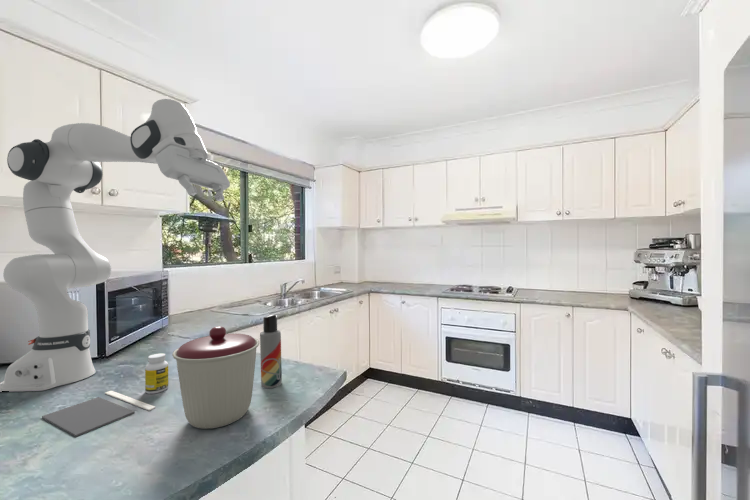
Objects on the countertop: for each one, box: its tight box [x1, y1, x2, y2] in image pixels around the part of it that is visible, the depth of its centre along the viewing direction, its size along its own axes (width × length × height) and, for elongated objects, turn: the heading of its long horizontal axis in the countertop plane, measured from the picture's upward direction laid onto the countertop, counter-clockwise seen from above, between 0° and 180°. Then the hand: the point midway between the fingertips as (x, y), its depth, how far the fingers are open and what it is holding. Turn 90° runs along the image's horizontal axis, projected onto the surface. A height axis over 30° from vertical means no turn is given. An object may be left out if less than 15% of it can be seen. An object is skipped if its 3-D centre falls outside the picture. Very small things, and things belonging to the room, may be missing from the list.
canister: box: [171, 325, 260, 430], centre depth 75 cm, size 18×18×21 cm
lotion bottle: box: [259, 314, 283, 389], centre depth 93 cm, size 6×6×20 cm
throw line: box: [104, 390, 156, 412], centre depth 84 cm, size 22×2×1 cm, turn 62°
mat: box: [41, 396, 136, 438], centre depth 77 cm, size 18×11×1 cm, turn 62°
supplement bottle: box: [144, 353, 169, 395], centre depth 91 cm, size 5×5×10 cm
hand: (207, 197), depth 85 cm, fingers open, 8 cm apart
